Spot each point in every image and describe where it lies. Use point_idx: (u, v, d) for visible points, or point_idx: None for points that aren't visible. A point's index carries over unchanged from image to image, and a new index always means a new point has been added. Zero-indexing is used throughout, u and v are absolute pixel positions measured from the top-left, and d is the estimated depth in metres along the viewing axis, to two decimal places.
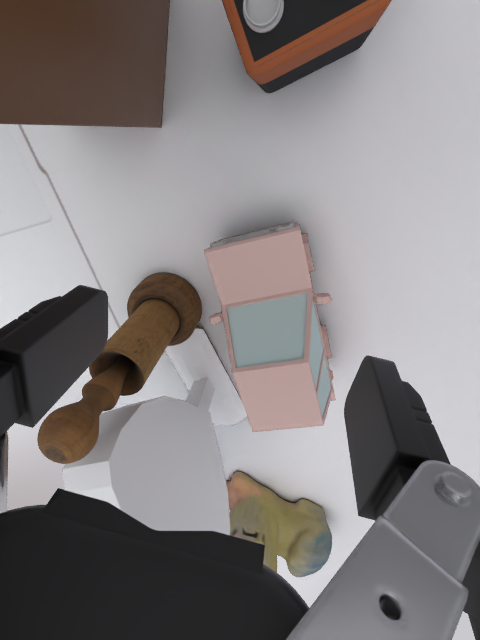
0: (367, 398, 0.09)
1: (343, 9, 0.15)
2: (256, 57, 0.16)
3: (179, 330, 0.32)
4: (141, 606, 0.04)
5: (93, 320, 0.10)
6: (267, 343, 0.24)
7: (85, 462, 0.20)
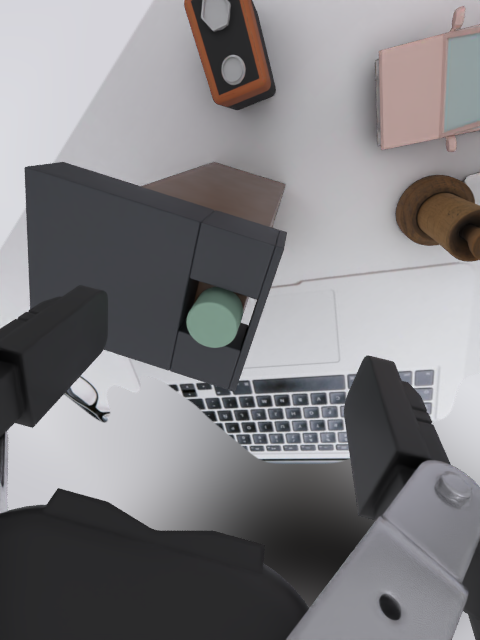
0: (367, 398, 0.09)
1: (239, 9, 0.24)
2: (257, 76, 0.26)
3: (458, 195, 0.33)
4: (141, 606, 0.04)
5: (93, 320, 0.10)
6: None
7: None
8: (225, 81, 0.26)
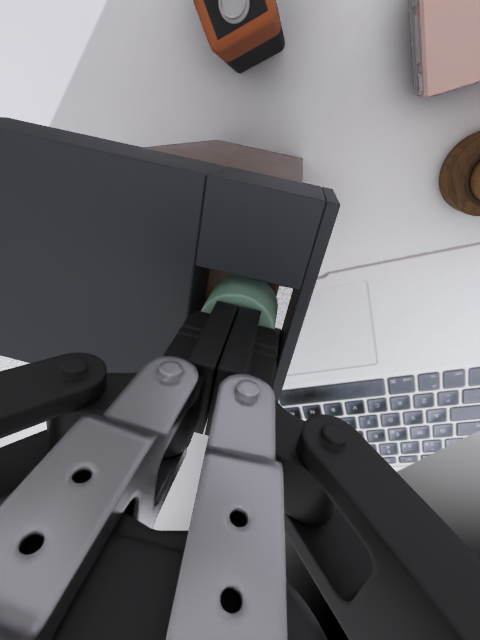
0: None
1: None
2: (265, 8, 0.20)
3: None
4: (141, 606, 0.04)
5: None
6: None
7: None
8: (224, 20, 0.20)
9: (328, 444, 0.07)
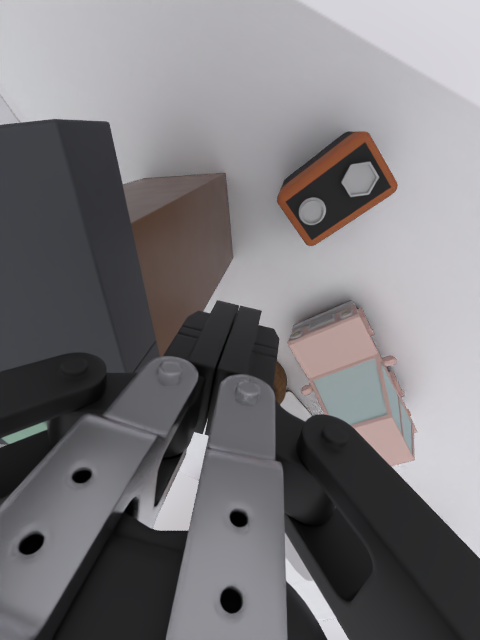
0: None
1: (366, 201, 0.23)
2: (312, 237, 0.24)
3: None
4: (141, 606, 0.04)
5: None
6: (354, 405, 0.32)
7: None
8: (299, 205, 0.23)
9: (328, 444, 0.07)
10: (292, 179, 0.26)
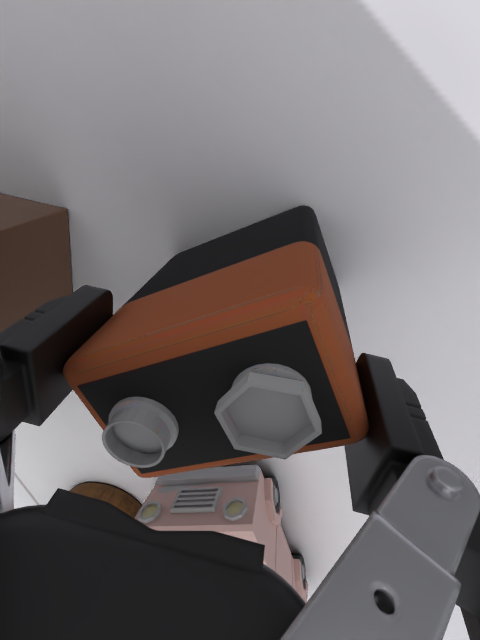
0: None
1: None
2: (143, 469, 0.10)
3: None
4: (141, 606, 0.04)
5: (98, 319, 0.10)
6: None
7: None
8: (113, 405, 0.09)
9: None
10: (146, 297, 0.11)
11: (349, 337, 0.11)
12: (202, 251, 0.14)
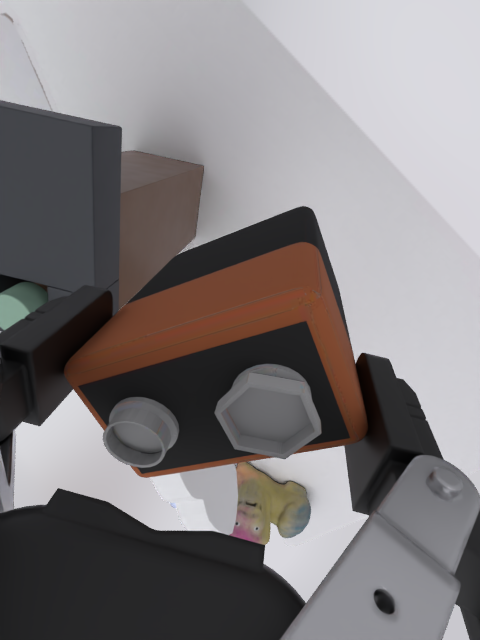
0: (362, 395, 0.09)
1: None
2: (144, 469, 0.10)
3: None
4: (141, 606, 0.04)
5: (99, 320, 0.10)
6: None
7: None
8: (113, 405, 0.09)
9: None
10: (146, 298, 0.11)
11: (349, 337, 0.11)
12: (202, 252, 0.14)
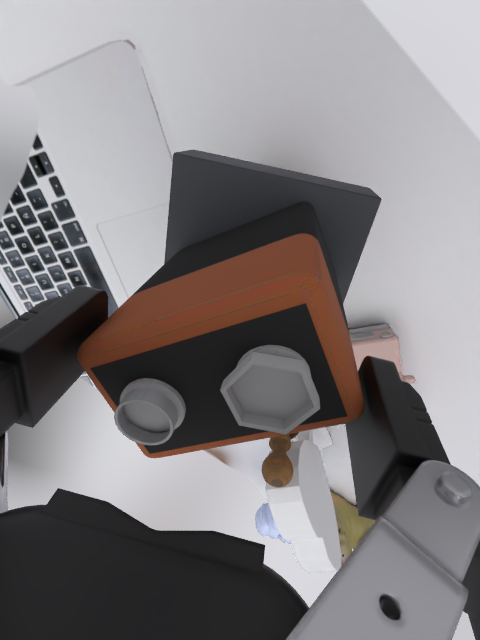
0: (367, 398, 0.09)
1: None
2: (152, 449, 0.10)
3: None
4: (141, 606, 0.04)
5: (93, 320, 0.10)
6: None
7: None
8: (124, 387, 0.09)
9: None
10: (153, 288, 0.12)
11: (347, 326, 0.12)
12: (206, 245, 0.14)
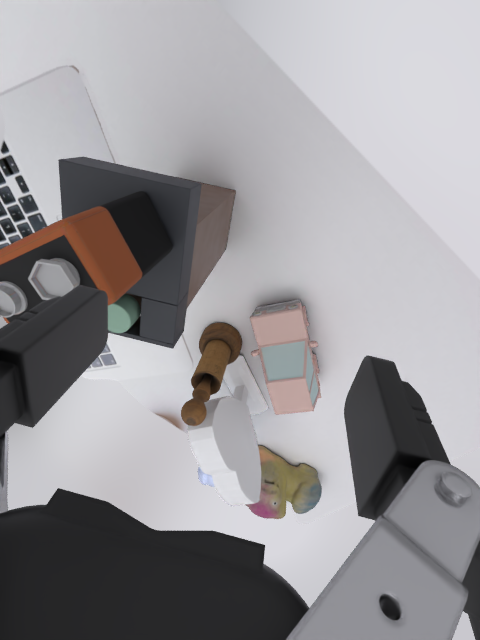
0: (367, 398, 0.09)
1: None
2: None
3: (230, 357, 0.54)
4: (141, 606, 0.04)
5: (93, 320, 0.10)
6: (284, 368, 0.47)
7: (199, 427, 0.43)
8: None
9: None
10: None
11: (143, 263, 0.20)
12: None
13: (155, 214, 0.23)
